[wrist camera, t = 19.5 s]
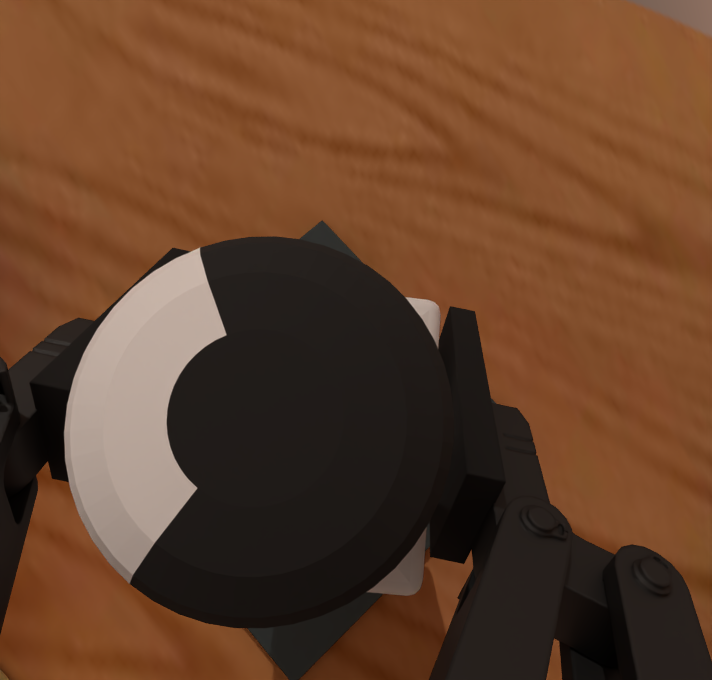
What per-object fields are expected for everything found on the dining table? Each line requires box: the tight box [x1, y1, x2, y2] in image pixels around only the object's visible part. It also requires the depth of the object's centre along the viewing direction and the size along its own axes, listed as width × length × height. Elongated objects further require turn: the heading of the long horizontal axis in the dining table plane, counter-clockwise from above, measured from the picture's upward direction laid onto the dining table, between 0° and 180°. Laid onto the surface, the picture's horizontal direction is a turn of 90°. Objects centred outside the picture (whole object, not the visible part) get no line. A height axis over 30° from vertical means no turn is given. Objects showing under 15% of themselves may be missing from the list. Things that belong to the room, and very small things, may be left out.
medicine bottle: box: [64, 237, 454, 628], centre depth 13 cm, size 7×7×12 cm
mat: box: [248, 221, 496, 680], centre depth 25 cm, size 16×16×1 cm
